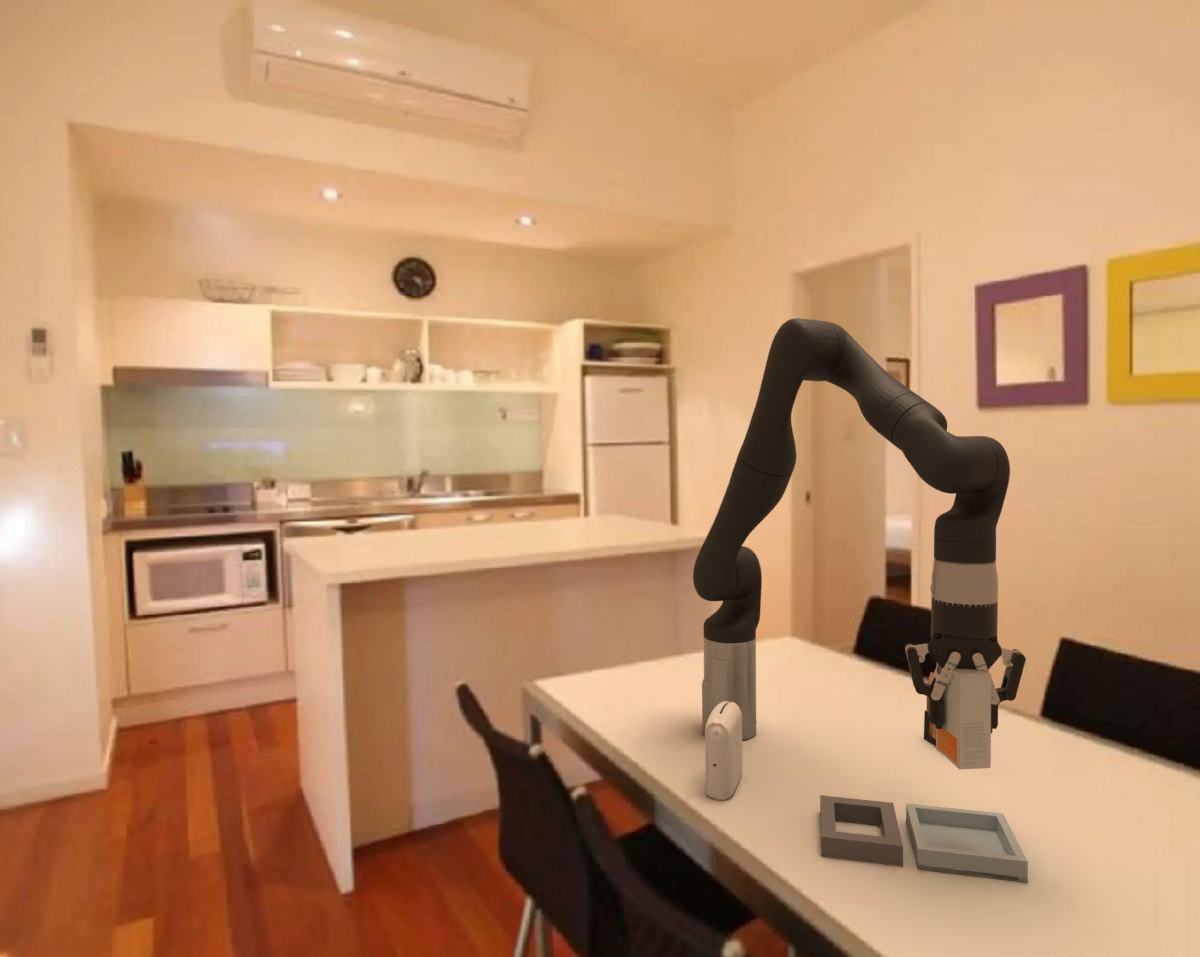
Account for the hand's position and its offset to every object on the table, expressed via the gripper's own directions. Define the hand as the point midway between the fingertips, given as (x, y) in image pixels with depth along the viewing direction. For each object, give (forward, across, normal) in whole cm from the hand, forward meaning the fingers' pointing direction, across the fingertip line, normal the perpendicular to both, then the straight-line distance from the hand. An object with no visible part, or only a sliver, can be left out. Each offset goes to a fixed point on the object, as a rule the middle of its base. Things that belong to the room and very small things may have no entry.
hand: (962, 728), depth 97 cm
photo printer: (+16, -31, +11) cm, 37 cm away
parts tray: (+16, 0, 0) cm, 16 cm away
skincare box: (+4, 0, 0) cm, 4 cm away
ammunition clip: (+16, +4, +33) cm, 37 cm away
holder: (+16, -12, 0) cm, 20 cm away
